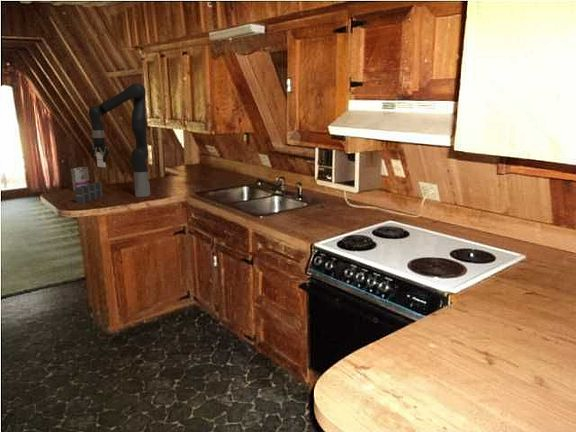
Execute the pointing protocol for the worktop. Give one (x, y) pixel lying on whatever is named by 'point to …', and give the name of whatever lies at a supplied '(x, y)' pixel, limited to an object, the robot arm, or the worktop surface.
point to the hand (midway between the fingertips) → (101, 161)
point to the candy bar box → (80, 177)
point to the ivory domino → (100, 160)
